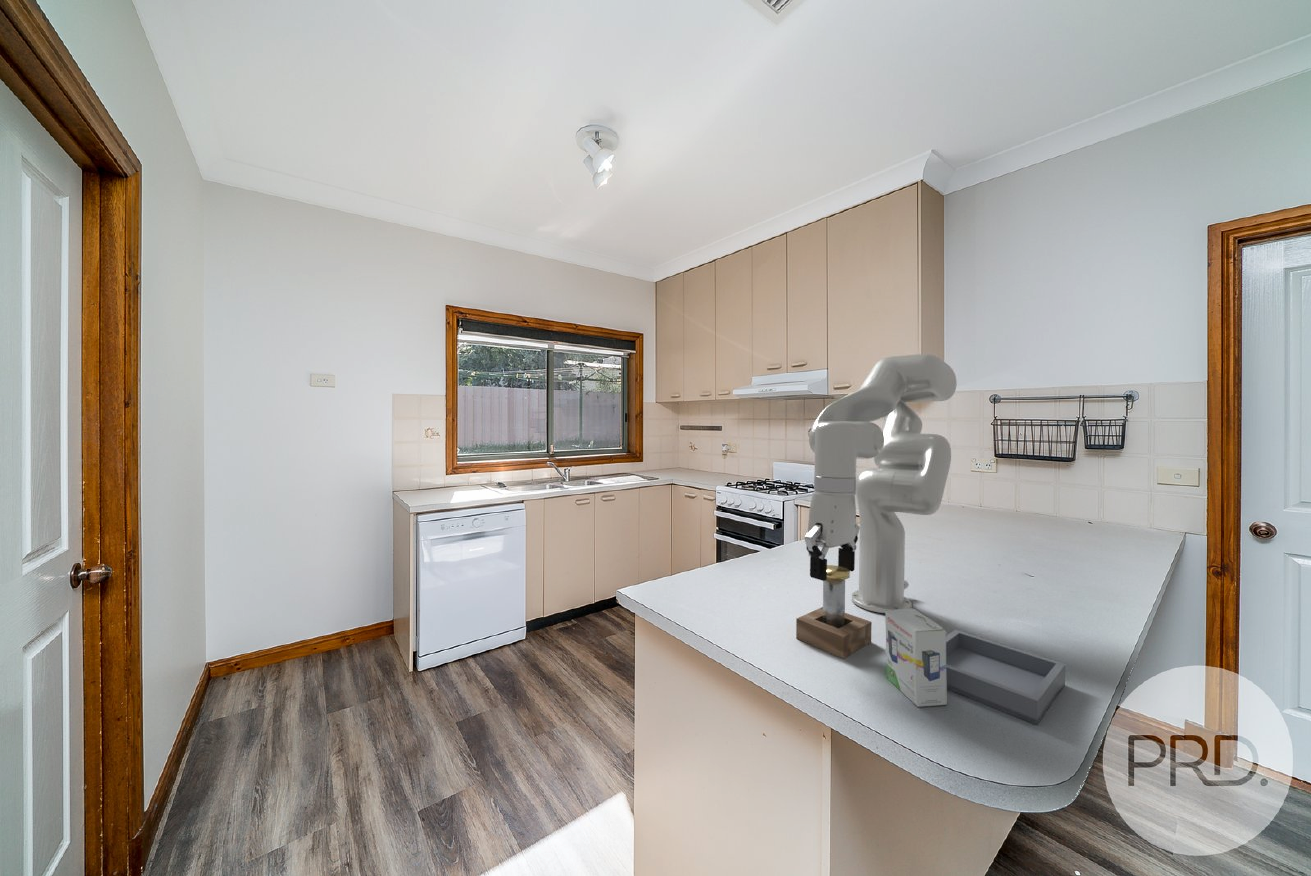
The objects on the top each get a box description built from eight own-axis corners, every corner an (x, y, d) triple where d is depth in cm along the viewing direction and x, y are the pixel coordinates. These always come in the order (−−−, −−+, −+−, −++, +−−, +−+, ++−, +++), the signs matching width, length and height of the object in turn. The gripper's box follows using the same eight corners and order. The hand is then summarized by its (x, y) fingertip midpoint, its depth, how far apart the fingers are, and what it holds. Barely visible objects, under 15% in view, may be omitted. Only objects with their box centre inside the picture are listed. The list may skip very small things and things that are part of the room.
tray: (954, 647, 89) (955, 629, 89) (1064, 685, 77) (1065, 664, 77) (917, 676, 79) (917, 656, 79) (1036, 725, 67) (1037, 701, 67)
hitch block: (824, 624, 99) (824, 605, 99) (871, 642, 92) (871, 621, 91) (796, 638, 93) (796, 618, 93) (843, 658, 85) (843, 636, 85)
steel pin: (828, 631, 96) (829, 563, 96) (854, 641, 92) (855, 570, 91) (812, 639, 93) (813, 569, 92) (838, 650, 89) (839, 576, 88)
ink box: (948, 706, 71) (949, 629, 71) (915, 708, 71) (916, 631, 70) (912, 675, 80) (913, 606, 79) (883, 677, 79) (884, 607, 79)
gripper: (840, 481, 99) (839, 562, 100) (790, 486, 89) (789, 577, 89) (876, 484, 93) (873, 570, 94) (827, 491, 83) (824, 588, 83)
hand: (832, 574), depth 91 cm, fingers open, 9 cm apart
